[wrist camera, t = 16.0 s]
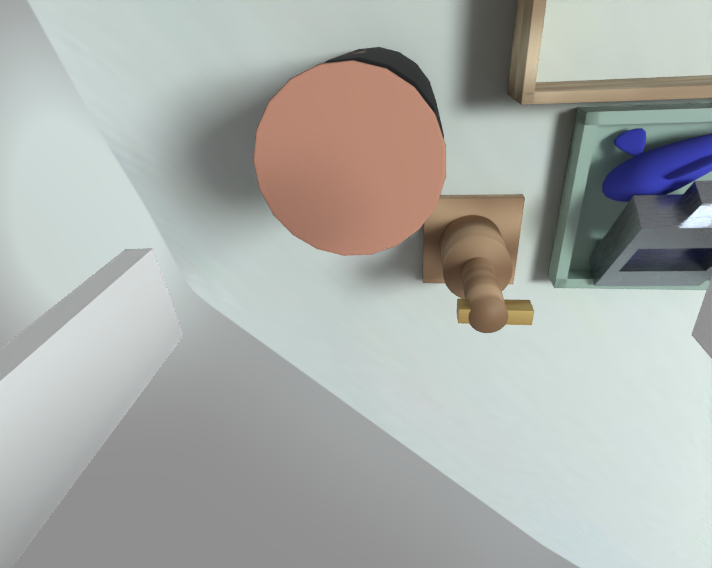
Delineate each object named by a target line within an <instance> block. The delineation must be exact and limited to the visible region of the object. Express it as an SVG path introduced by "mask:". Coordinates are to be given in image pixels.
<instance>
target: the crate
mask: <svg viewBox="0 0 712 568" xmlns="http://www.w3.org/2000/svg"><path fill="white" fill-rule="evenodd" d="M545 8H546V0H517V8H516V17H515V27H514V37H513V46H512V56H511V66H510V75H509V85H508V95H509V96H511V97H512V98H513V99H515V100H516V101H517V102H519V103H520V104H521V105H524V104H552V103H580V102H608V101H636V100H664V99H692V98H712V75H707V76H683V77H659V78H635V79H611V80H587V81H563V82H538V83H536V77H537V69H538V61H539V54H540V46H541V38H542V31H543V23H544V15H545Z"/></svg>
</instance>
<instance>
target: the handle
mask: <svg viewBox="0 0 712 568" xmlns="http://www.w3.org/2000/svg"><path fill="white" fill-rule="evenodd" d="M524 201H525V197H524V196H523V194H519V195H440V197H439V200H438V203H437V206H436V207H435V209H434V210H433V211H432V213H431V214H430V215H429V217H428V218H427V220H426V221H425V222H424V247H423V283H445V284H446V286H447V287H448V288H449V290H450V291H451V292H452V293H453V294H455V295H456V296H458V297H460V298H462V299H457V319H458V323H469V324H470V325H471V326H472V327H473V328H474V329H475V330H477V331H479V332H483V333H492V332H495V331H498V330H500V329H501V328H502V327H504V326H505V324H509V325H532V320H533V314H534V310H533V307H532V305H531V302H530V300H504V298H503V295H502V291H503V290H504V289H505V288H506V286H507V285H508V284H513V282H514V275H515V267H516V260H517V253H518V245H519V238H520V230H521V223H522V215H523V208H524Z"/></svg>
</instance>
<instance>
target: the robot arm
mask: <svg viewBox="0 0 712 568" xmlns="http://www.w3.org/2000/svg"><path fill="white" fill-rule="evenodd" d="M692 336H693V337H694V338H695V339H696V341H697V342H698V343H699V344H700V345H701V347H702V348H703V349H704V350H705V351H706V352H707V354H708V355H709V356H710V357H711V358H712V276H711V279H710V282H709V285H708V288H707V291H706V294H705V297H704V300H703V303H702V306H701V309H700V312H699V314H698V317H697V320H696V323H695V326H694V329H693V332H692ZM182 337H183V333H182V330H181V327H180V324H179V322H178V319H177V316H176V313H175V310H174V308H173V304H172V302H171V299H170V296H169V293H168V290H167V287H166V285H165V282H164V279H163V276H162V273H161V271H160V268H159V265H158V262H157V259H156V256H155V254H154V250H153V249H126V250H124V251H123V252H121V253H120V254H119V255H118V256H117V257H115V258H114V259H113V260H111V261H110V262H109V263H108V264H106V265H105V266H104V267H103V268H101V269H100V270H99V271H97V272H96V273H95V274H94V275H92V276H91V277H90V278H89V279H87V280H86V281H85V282H84V283H82V284H81V285H80V286H79V287H77V288H76V289H75V290H74V291H72V292H71V293H70V294H69V295H67V296H66V297H65V298H64V299H62V300H61V301H60V302H58V303H57V304H56V305H55V306H53V307H52V308H51V309H50V310H48V311H47V312H46V313H44V314H43V315H42V316H41V317H39V318H38V319H37V320H36V321H34V322H33V323H32V324H31V325H29V326H28V327H27V328H26V329H24V330H23V331H22V332H21V333H19V334H18V335H17V336H15V337H14V338H13V339H12V340H11V341H9V342H8V343H7V344H5V345H4V346H3V347H2V348H1V349H0V568H12V567H13V565H14V564H15V563H16V561H17V560H18V558H19V557H20V556H21V555H22V553H23V552H24V550H25V549H26V548H27V546H28V545H29V544H30V542H31V541H32V540H33V538H34V537H35V536H36V534H37V533H38V532H39V530H40V529H41V528H42V526H43V525H44V523H45V522H46V521H47V519H48V518H49V517H50V515H51V514H52V513H53V511H54V510H55V508H56V507H57V506H58V504H59V503H60V502H61V501H62V499H63V498H64V496H65V495H66V494H67V492H68V491H69V490H70V488H71V487H72V486H73V484H74V483H75V482H76V480H77V479H78V478H79V476H80V475H81V474H82V472H83V471H84V469H85V468H86V467H87V465H88V464H89V462H90V461H91V460H92V459H93V457H94V456H95V455H96V453H97V452H98V451H99V449H100V448H101V447H102V445H103V444H104V442H105V441H106V440H107V438H108V437H109V436H110V434H111V433H112V432H113V430H114V429H115V428H116V426H117V425H118V424H119V422H120V421H121V420H122V418H123V417H124V416H125V414H126V413H127V411H128V410H129V409H130V407H131V406H132V405H133V403H134V402H135V401H136V399H137V398H138V397H139V395H140V394H141V393H142V391H143V390H144V388H145V387H146V386H147V384H148V383H149V382H150V380H151V379H152V378H153V376H154V375H155V374H156V372H157V371H158V369H159V368H160V367H161V366H162V364H163V363H164V361H165V360H166V359H167V357H168V356H169V355H170V353H171V352H172V351H173V349H174V348H175V346H176V345H177V344H178V343H179V341H180V340H181V339H182Z"/></svg>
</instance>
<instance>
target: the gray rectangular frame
mask: <svg viewBox="0 0 712 568" xmlns="http://www.w3.org/2000/svg"><path fill="white" fill-rule="evenodd" d="M589 261H590V266H591V271H592V277H593V282H594V286H700V285H701V284H702V283H704V282H705V281H706V280H708V279H709V278H710V277H711V276H712V180H706V181H694V182H693V183H692V185H691V186H690V187H689V188H688V189H687V190H686V191H685V193H684V194H672V195H636V196H633V197H632V198H631V200H630V201H629V202H628V204H627V205H626V207H625V208H624V210H623V211H622V212H621V214H620V215H619V217H618V218H617V219H616V221H615V222H614V224H613V225H612V226H611V228H610V229H609V231H608V232H607V233H606V235H605V236H604V238H603V239H602V240H601V242H600V243H599V245H598V246H597V247H596V249H595V250H594V252H593V253H592V254H591V256H590V257H589Z"/></svg>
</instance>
